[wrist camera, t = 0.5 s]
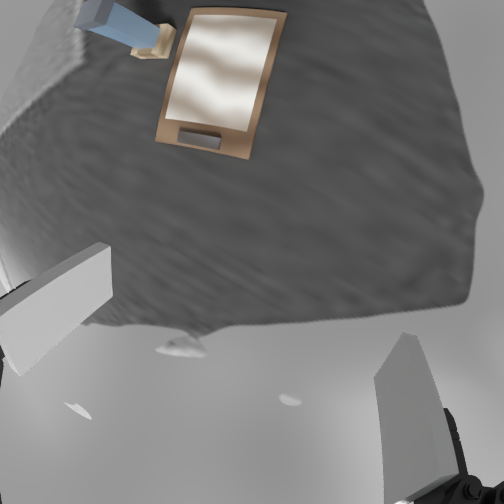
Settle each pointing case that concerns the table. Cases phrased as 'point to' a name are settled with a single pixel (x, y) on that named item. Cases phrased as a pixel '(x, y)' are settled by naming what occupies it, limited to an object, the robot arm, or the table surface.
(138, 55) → the stand
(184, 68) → the clipboard
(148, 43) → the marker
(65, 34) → the table surface
